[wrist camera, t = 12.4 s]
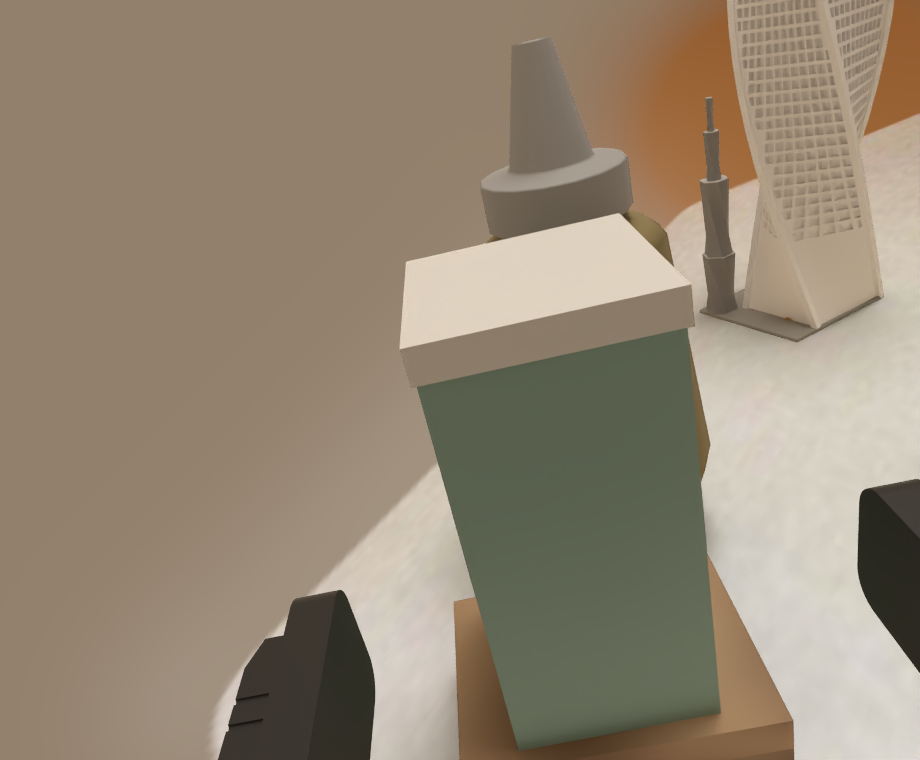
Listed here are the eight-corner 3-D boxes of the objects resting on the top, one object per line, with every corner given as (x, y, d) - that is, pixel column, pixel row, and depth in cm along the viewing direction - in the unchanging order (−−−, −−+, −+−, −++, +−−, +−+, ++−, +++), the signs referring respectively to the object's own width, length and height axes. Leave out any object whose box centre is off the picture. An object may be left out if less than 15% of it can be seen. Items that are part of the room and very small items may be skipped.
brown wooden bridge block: (712, 622, 24) (706, 552, 22) (795, 799, 18) (792, 720, 17) (473, 667, 24) (453, 601, 23) (485, 851, 19) (460, 779, 18)
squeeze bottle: (471, 569, 29) (339, 89, 21) (565, 455, 34) (489, 42, 26) (672, 630, 24) (600, 39, 16) (743, 487, 29) (716, -6, 21)
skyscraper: (796, 270, 48) (789, -272, 35) (919, 296, 41) (963, -364, 28) (700, 316, 45) (655, -257, 32) (815, 352, 38) (815, -354, 26)
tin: (663, 569, 22) (619, 213, 17) (726, 715, 18) (690, 284, 13) (496, 603, 22) (406, 261, 18) (515, 755, 18) (399, 348, 13)
